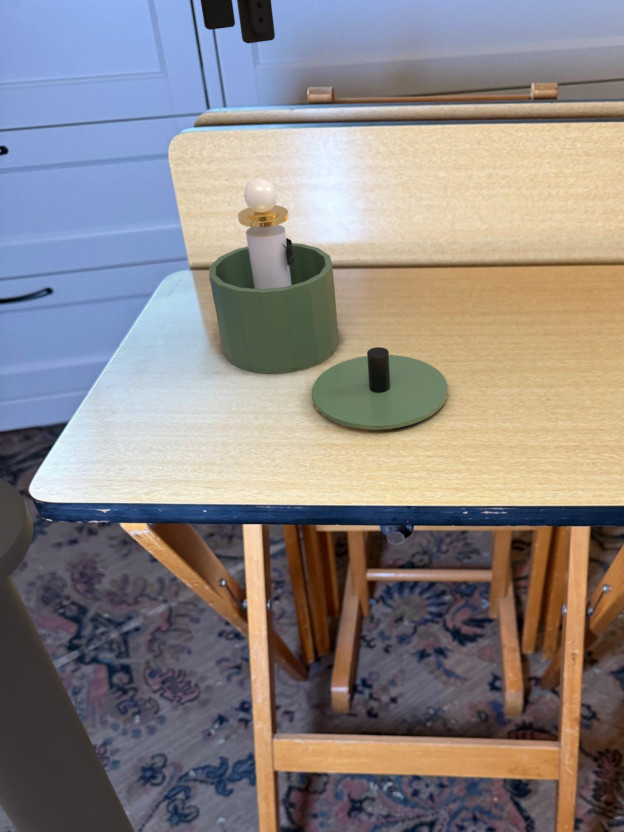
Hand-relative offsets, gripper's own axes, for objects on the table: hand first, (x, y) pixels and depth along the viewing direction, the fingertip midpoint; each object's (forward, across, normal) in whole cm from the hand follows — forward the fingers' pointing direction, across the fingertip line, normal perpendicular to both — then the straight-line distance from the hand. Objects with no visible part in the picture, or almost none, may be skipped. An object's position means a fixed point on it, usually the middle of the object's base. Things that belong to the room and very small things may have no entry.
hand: (239, 34), depth 80 cm
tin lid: (+34, +18, +4) cm, 38 cm away
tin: (+34, 0, 0) cm, 34 cm away
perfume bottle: (+34, 0, 0) cm, 34 cm away
